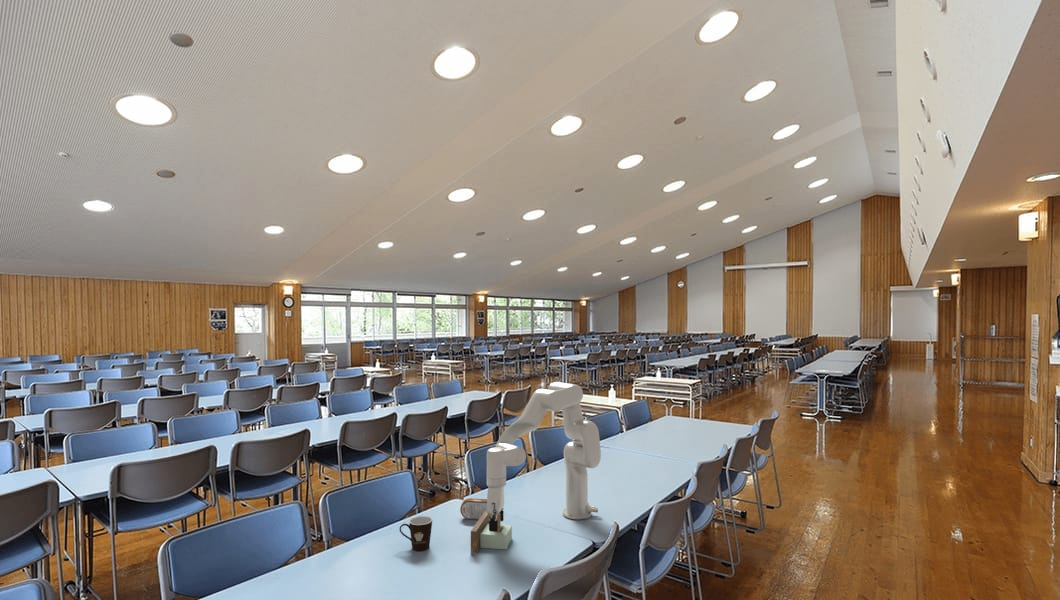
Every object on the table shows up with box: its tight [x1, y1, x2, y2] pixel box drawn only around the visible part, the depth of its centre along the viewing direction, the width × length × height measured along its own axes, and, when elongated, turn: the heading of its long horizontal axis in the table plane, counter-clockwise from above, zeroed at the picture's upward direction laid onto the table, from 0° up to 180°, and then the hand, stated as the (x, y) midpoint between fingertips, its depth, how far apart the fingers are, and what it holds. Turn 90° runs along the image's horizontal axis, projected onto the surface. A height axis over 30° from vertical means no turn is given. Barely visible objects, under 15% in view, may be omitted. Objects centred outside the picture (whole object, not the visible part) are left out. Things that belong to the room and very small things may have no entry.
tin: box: [459, 498, 495, 521], centre depth 219 cm, size 15×3×8 cm, turn 84°
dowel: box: [493, 513, 501, 532], centre depth 195 cm, size 3×3×10 cm
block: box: [479, 524, 513, 550], centre depth 195 cm, size 10×10×5 cm
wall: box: [470, 511, 490, 555], centre depth 196 cm, size 2×20×8 cm, turn 170°
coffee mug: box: [399, 515, 433, 552], centre depth 192 cm, size 12×9×10 cm
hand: (496, 525), depth 195 cm, fingers open, 9 cm apart
